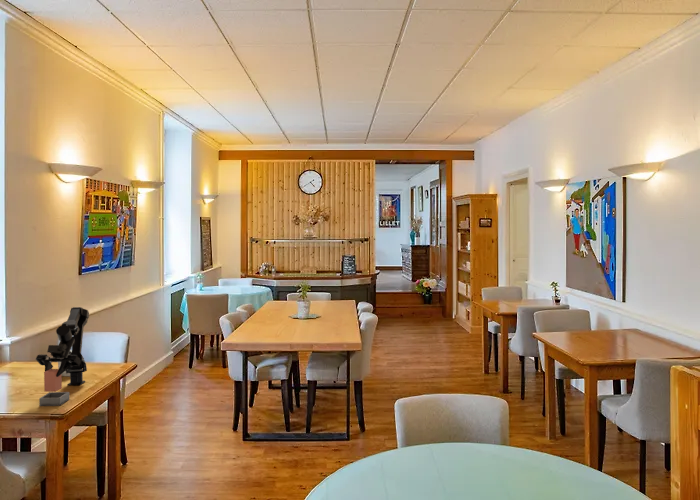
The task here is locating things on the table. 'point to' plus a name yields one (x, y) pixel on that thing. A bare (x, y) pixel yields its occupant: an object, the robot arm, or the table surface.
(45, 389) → the red block
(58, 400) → the open box
